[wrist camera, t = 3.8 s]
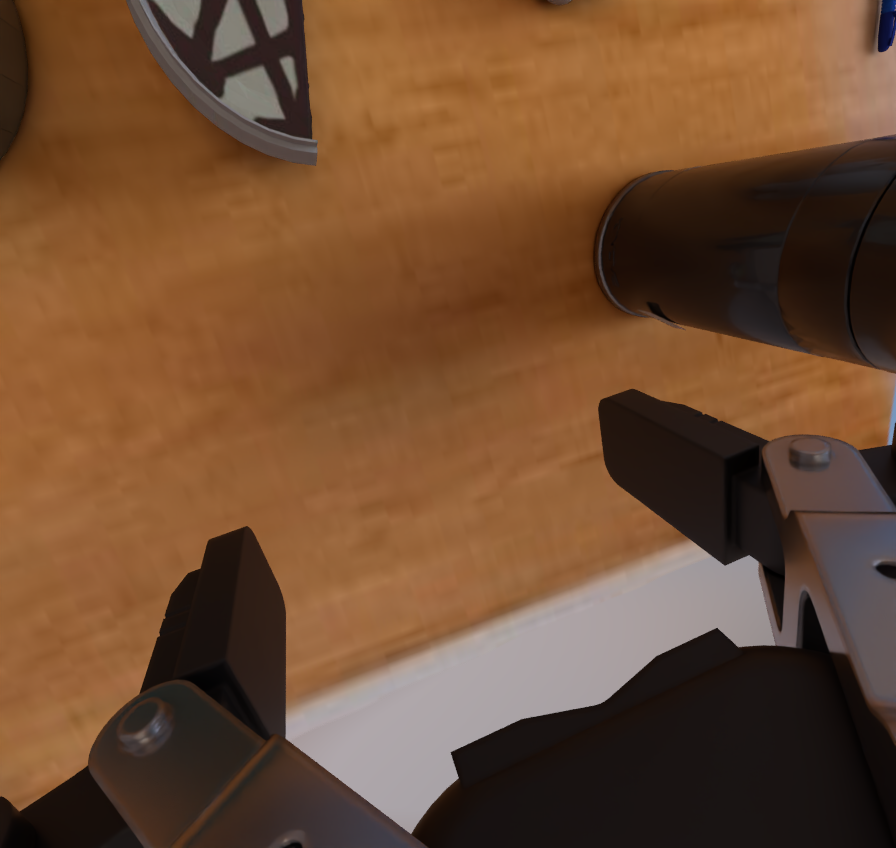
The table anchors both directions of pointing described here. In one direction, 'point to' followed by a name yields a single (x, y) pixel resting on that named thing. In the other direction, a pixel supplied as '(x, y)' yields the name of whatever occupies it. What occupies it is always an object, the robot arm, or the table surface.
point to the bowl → (11, 74)
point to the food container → (237, 67)
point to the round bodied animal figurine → (559, 2)
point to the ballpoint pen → (887, 25)
